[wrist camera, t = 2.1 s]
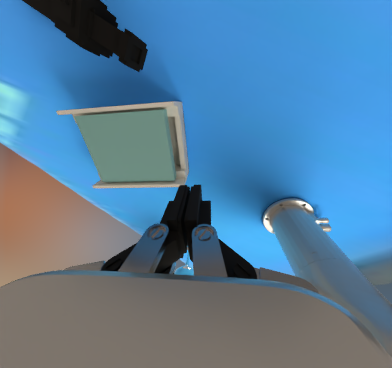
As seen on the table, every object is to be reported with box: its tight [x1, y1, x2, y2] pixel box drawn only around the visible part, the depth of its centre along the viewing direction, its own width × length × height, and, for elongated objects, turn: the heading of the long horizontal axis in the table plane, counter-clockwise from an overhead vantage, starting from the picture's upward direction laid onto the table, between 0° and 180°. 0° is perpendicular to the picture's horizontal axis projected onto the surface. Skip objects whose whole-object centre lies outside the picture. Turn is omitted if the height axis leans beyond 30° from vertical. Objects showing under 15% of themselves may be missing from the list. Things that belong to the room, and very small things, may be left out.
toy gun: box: [22, 0, 148, 72], centre depth 21 cm, size 6×25×10 cm, turn 61°
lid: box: [74, 109, 177, 182], centre depth 28 cm, size 16×13×2 cm
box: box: [56, 101, 189, 188], centre depth 30 cm, size 20×15×8 cm
